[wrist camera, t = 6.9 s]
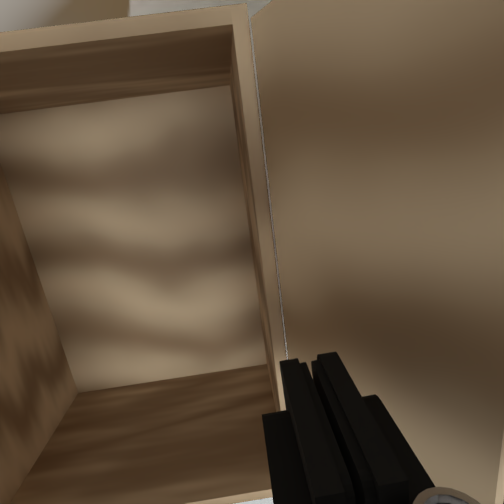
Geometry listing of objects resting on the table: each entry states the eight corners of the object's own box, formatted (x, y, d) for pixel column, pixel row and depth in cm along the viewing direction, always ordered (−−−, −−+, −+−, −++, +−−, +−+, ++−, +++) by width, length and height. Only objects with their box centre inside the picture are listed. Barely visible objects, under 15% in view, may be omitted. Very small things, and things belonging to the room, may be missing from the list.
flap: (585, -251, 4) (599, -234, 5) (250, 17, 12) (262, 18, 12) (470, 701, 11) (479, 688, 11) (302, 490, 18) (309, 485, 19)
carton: (-22, 108, 23) (-272, 64, 11) (237, 76, 23) (246, 2, 12) (76, 394, 30) (-18, 545, 18) (273, 364, 30) (301, 491, 19)
